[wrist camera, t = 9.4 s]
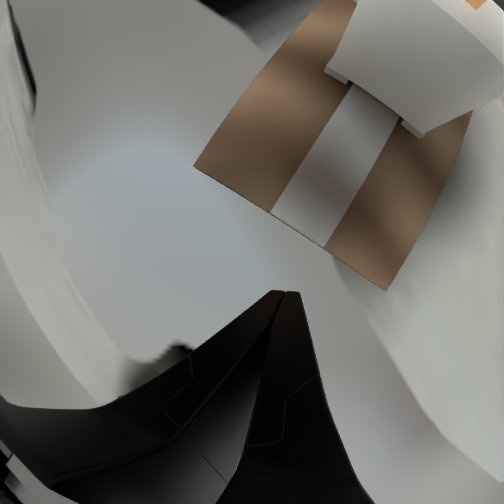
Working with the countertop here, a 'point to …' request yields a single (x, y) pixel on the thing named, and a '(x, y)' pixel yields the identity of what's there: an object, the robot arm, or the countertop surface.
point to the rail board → (332, 154)
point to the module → (424, 57)
